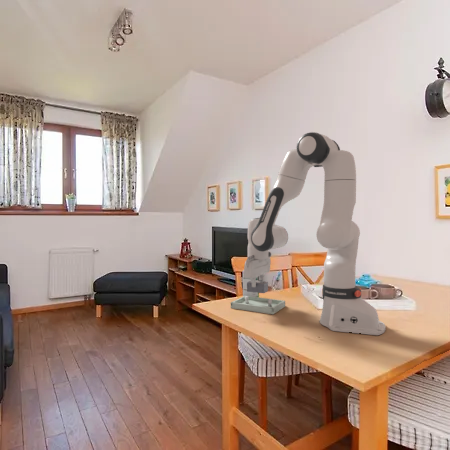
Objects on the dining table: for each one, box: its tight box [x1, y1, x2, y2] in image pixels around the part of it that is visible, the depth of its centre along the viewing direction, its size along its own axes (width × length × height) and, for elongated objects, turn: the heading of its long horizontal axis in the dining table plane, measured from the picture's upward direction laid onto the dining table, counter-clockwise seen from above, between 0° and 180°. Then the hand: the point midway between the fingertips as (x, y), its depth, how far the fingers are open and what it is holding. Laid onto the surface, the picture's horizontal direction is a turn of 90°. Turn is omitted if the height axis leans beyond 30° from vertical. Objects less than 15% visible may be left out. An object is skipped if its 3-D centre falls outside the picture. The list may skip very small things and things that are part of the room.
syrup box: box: [242, 269, 260, 297], centre depth 159 cm, size 6×6×14 cm
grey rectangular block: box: [247, 280, 269, 294], centre depth 145 cm, size 8×5×4 cm, turn 63°
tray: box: [230, 296, 286, 315], centre depth 145 cm, size 20×14×4 cm
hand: (257, 285), depth 145 cm, fingers closed on grey rectangular block, 5 cm apart
